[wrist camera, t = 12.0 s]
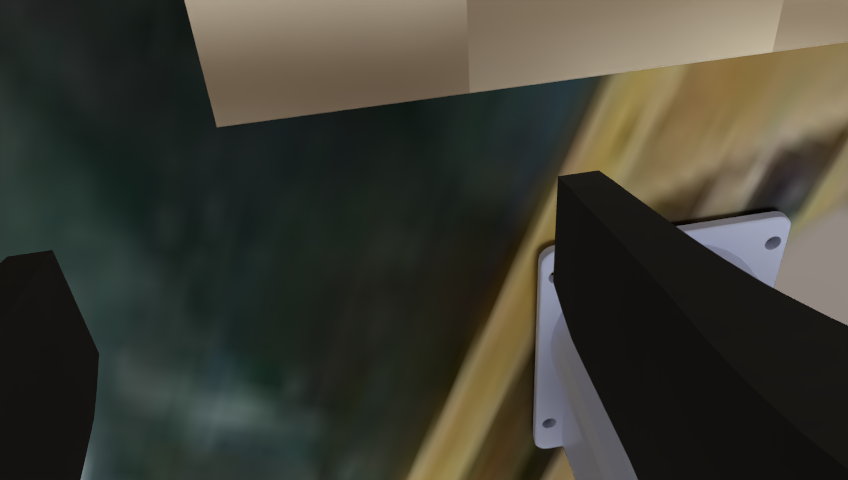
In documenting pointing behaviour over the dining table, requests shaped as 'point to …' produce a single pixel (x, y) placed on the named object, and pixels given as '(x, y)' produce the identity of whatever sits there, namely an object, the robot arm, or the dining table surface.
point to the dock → (469, 45)
